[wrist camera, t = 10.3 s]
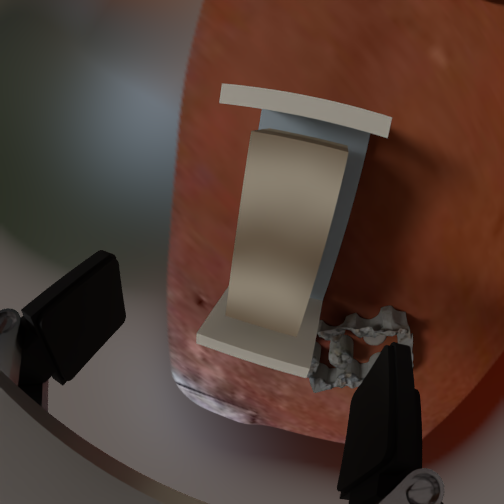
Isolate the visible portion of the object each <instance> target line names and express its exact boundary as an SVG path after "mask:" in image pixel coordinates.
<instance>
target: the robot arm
mask: <svg viewBox="0 0 504 504" xmlns="http://www.w3.org/2000/svg"><path fill="white" fill-rule="evenodd" d="M21 311H22V313H23V317H20V315H19V313H18V312H17V311H16V310H14V309H9V308H7V309H2V310H0V504H208V503H206V502H203V501H200V500H198V499H195V498H193V497H190V496H188V495H185V494H183V493H181V492H178V491H176V490H174V489H172V488H170V487H167V486H165V485H163V484H161V483H159V482H157V481H155V480H153V479H151V478H149V477H147V476H145V475H143V474H141V473H139V472H137V471H135V470H134V469H132V468H130V467H128V466H126V465H125V464H123V463H121V462H119V461H118V460H116V459H114V458H113V457H111V456H109V455H108V454H106V453H104V452H103V451H101V450H100V449H98V448H97V447H95V446H94V445H92V444H90V443H89V442H87V441H86V440H84V439H83V438H82V437H80V436H79V435H77V434H76V433H74V432H73V431H72V430H70V429H69V428H68V427H66V426H65V425H64V424H62V423H61V422H60V421H58V420H57V419H56V418H54V417H53V416H52V415H51V414H49V413H48V379H49V378H50V377H51V376H52V377H53V379H55V380H56V381H57V382H59V383H60V384H62V385H64V384H65V383H66V381H70V380H72V379H73V378H74V377H75V375H76V374H77V373H78V372H79V371H80V370H81V369H82V368H83V367H84V365H85V364H86V363H87V362H88V361H89V360H90V359H91V358H92V357H93V355H94V354H95V353H96V352H97V351H98V350H99V349H100V348H101V347H102V346H103V345H104V344H105V342H106V341H107V340H108V339H109V338H110V337H111V336H112V335H113V334H114V333H115V332H116V331H117V330H118V329H119V328H120V326H121V325H122V324H123V323H124V321H125V318H126V313H125V307H124V301H123V293H122V287H121V279H120V271H119V263H118V261H117V260H116V257H115V255H113V254H111V253H108V252H106V251H103V250H100V251H98V252H96V253H95V254H93V255H92V256H91V257H89V258H88V259H86V260H85V261H84V262H82V263H81V264H80V265H78V266H77V267H75V268H74V269H73V270H71V271H70V272H69V273H67V274H66V275H65V276H63V277H62V278H61V279H59V280H58V281H57V282H55V283H54V284H53V285H52V286H51V287H49V288H48V289H46V290H45V291H44V292H43V293H41V294H40V295H39V296H38V297H36V298H35V299H34V300H33V301H32V302H30V303H29V304H28V305H27V306H25V307H24V308H23V309H22V310H21ZM337 490H338V491H341V495H340V499H346V500H349V504H443V503H442V500H443V496H444V484H443V481H442V479H441V478H440V476H439V475H438V474H437V473H436V472H434V471H433V470H430V469H427V468H424V469H422V421H421V403H420V394H419V391H418V390H417V389H415V388H414V376H413V365H412V356H411V349H410V346H408V345H404V344H400V343H396V342H393V343H391V345H390V346H388V345H385V346H384V348H383V349H382V351H381V353H380V354H379V356H378V358H377V359H376V361H375V363H374V364H373V366H372V367H371V369H370V370H369V372H368V373H367V375H366V377H365V378H364V380H363V381H362V383H361V384H360V386H359V387H358V389H357V390H356V391H355V393H354V395H353V397H352V400H351V405H350V413H349V421H348V428H347V435H346V441H345V447H344V453H343V459H342V464H341V470H340V475H339V480H338V485H337Z"/></svg>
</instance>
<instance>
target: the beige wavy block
mask: <svg viewBox="0 0 504 504" xmlns="http://www.w3.org/2000/svg"><path fill="white" fill-rule="evenodd" d="M348 153H349V151H348V146H347V145H343V144H339V143H335V142H331V141H327V140H323V139H319V138H315V137H310V136H306V135H301V134H296V133H292V132H287V131H282V130H276V129H271V128H267V129H261V130H255V131H251V136H250V143H249V149H248V156H247V163H246V169H245V176H244V183H243V190H242V196H241V203H240V210H239V217H238V224H237V231H236V239H235V246H234V253H233V260H232V268H231V275H230V283H229V290H228V298H227V306H226V313H225V316H228V317H231V318H234V319H237V320H240V321H243V322H247V323H250V324H253V325H256V326H260V327H263V328H266V329H270V330H273V331H276V332H280V333H283V334H287V335H290V336H294V337H297V335H298V332H299V329H300V326H301V323H302V320H303V317H304V314H305V310H306V307H307V304H308V301H309V298H310V295H311V291H312V288H313V285H314V282H315V278H316V275H317V272H318V268H319V265H320V262H321V258H322V255H323V251H324V248H325V244H326V241H327V237H328V233H329V230H330V226H331V222H332V219H333V215H334V211H335V207H336V203H337V199H338V195H339V191H340V187H341V183H342V179H343V175H344V171H345V166H346V162H347V158H348Z"/></svg>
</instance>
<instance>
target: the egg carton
mask: <svg viewBox="0 0 504 504" xmlns="http://www.w3.org/2000/svg"><path fill="white" fill-rule="evenodd" d="M345 329H348V330H351V331H352V332H353V333H354V334H355V335H356V336H358V337H359V338H361V337H363V336H364V340H365V342H366V343H367V344H369V345H379V344H381V343H383V341H384V340H385V339H386V336H394V335H396V334H397V338H398V343H400V344H404V345H408V346H410V349H411V356H412V365H413V353H412V347H413V333H412V334H411V335H410V327H409V326H408V323H407V318H406V312H401V311H397V310H395V309H394V308H393V307H392V306H385V307H381V310H380V312H379V314H378V315H377V316H376V317H374V318H372V319H363V318H361V317H359V316H358V315H357V313H354V314H351V315H349V316H346V319H345V321H344V323H342V324H341V325H339V326H329V325H327V324H325V323H324V322H323V320H319V325H318V330H317V334H318V335H319V337H322V338H324V339H325V340H331V342H330V349H329V361H330V363H331V364H332V365H334V366H335V367H336V368H331V369H329V368H328V367H327V366H326V365H325V364H322V363H319V361H320V354H321V346H320V344H319V343H317V342H316V341H315V346H314V351H313V356H312V361H311V366H310V370H309V372H308V374H307V378H308V377H309V379H310V384H311V387H312V389H313V392H315V393H316V392H320V391H323V390H328V389H332V388H334V387H340V388H343V387H344V386H349V387H350V388H355V387H358V386H360V384H361V383H362V381H363V380H364V378H365V377H366V375H367V373H368V372H369V370H370V369H371V367H372V366H373V364H374V363H375V361H376V359H377V358H378V356H379V354H380V353H381V352H378V353H375V354H373V355H372V356H371V357H370V359H369V362H367V363H362V364H359V362H358V361H357V360H355V359H353V344H354V343H353V340H352V338H351V337H350V336H348V335H344V333H345Z"/></svg>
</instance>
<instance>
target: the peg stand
mask: <svg viewBox="0 0 504 504" xmlns="http://www.w3.org/2000/svg"><path fill="white" fill-rule="evenodd" d="M219 103H224V104H232V105H240V106H247V107H254V108H260V109H262V112H261V118H260V124H259V130H261V129H267V128H271V129H276V130H282V131H287V132H292V133H296V134H301V135H306V136H310V137H315V138H319V139H323V140H327V141H331V142H335V143H339V144H343V145H347V146H348V151H349V153H348V158H347V162H346V166H345V171H344V175H343V179H342V183H341V187H340V191H339V195H338V199H337V203H336V207H335V211H334V215H333V219H332V222H331V226H330V230H329V233H328V237H327V241H326V244H325V248H324V251H323V255H322V258H321V262H320V265H319V268H318V272H317V275H316V278H315V282H314V285H313V288H312V291H311V295H310V298H309V301H308V304H307V307H306V310H305V314H304V317H303V320H302V323H301V326H300V329H299V332H298V335H297V337H294V336H290V335H287V334H283V333H280V332H276V331H273V330H270V329H266V328H263V327H260V326H256V325H253V324H250V323H247V322H243V321H240V320H237V319H234V318H231V317H228V316H225V313H226V306H227V298H228V290H229V287H228V288H227V289H226V291H225V292H224V294H223V295H222V297H221V298H220V300H219V301H218V303H217V304H216V306H215V307H214V309H213V310H212V312H211V313H210V314H209V316H208V317H207V319H206V320H205V322H204V323H203V325H202V326H201V328H200V329H199V331H198V332H197V339H196V343H198V344H200V345H203V346H206V347H209V348H211V349H214V350H217V351H220V352H223V353H226V354H229V355H231V356H234V357H237V358H240V359H243V360H247V361H250V362H253V363H256V364H259V365H262V366H266V367H269V368H272V369H276V370H279V371H282V372H286V373H289V374H293V375H297V376H300V377H304V378H306V377H307V374H308V372H309V370H310V366H311V361H312V356H313V351H314V346H315V341H316V336H317V330H318V325H319V319H320V313H321V307H322V301H323V298H324V295H325V292H326V290H327V287H328V284H329V281H330V278H331V275H332V272H333V268H334V265H335V262H336V259H337V256H338V253H339V250H340V246H341V243H342V240H343V236H344V233H345V230H346V226H347V223H348V219H349V216H350V212H351V209H352V205H353V202H354V198H355V194H356V191H357V187H358V183H359V179H360V175H361V171H362V167H363V163H364V159H365V155H366V151H367V146H368V142H369V137H370V133H372V134H375V135H378V136H382V137H385V138H388V134H389V129H390V125H391V120H392V117H389V116H385V115H382V114H379V113H375V112H372V111H369V110H365V109H361V108H358V107H354V106H350V105H346V104H342V103H338V102H334V101H329V100H325V99H320V98H316V97H311V96H306V95H301V94H295V93H290V92H284V91H278V90H272V89H265V88H258V87H250V86H241V85H232V84H222V88H221V95H220V101H219Z"/></svg>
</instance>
